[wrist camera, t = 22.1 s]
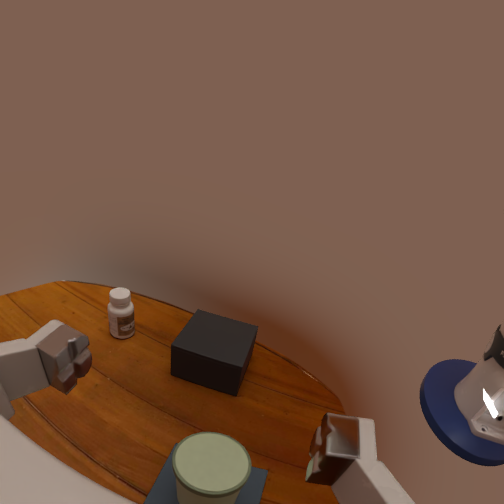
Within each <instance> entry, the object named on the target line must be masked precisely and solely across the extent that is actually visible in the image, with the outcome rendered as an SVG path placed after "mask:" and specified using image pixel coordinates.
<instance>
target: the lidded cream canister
mask: <svg viewBox="0 0 504 504" xmlns="http://www.w3.org/2000/svg"><path fill="white" fill-rule="evenodd" d="M172 468H173V472H174V475H175V477H176V487H177V498H178V501H179V504H234V503H235V501H236V498H237V496H238V494H239V491H240V489H241V488H242V487H243V486H244V485H245V483H246V482H247V480H248V478H249V475H250V472H251V459H250V456H249V454H248V452H247V451H246V449H245V448H244V447H243V446H242V445H241V444H240V443H239V442H238V441H236V440H235V439H233V438H231V437H229V436H227V435H224V434H221V433H216V432H200V433H196V434H192V435H190V436H188V437H186V438H184V439H183V440H182V441H181V442H180V443H179V444H178V445H177V446H176V448H175V450H174V452H173V455H172Z"/></svg>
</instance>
